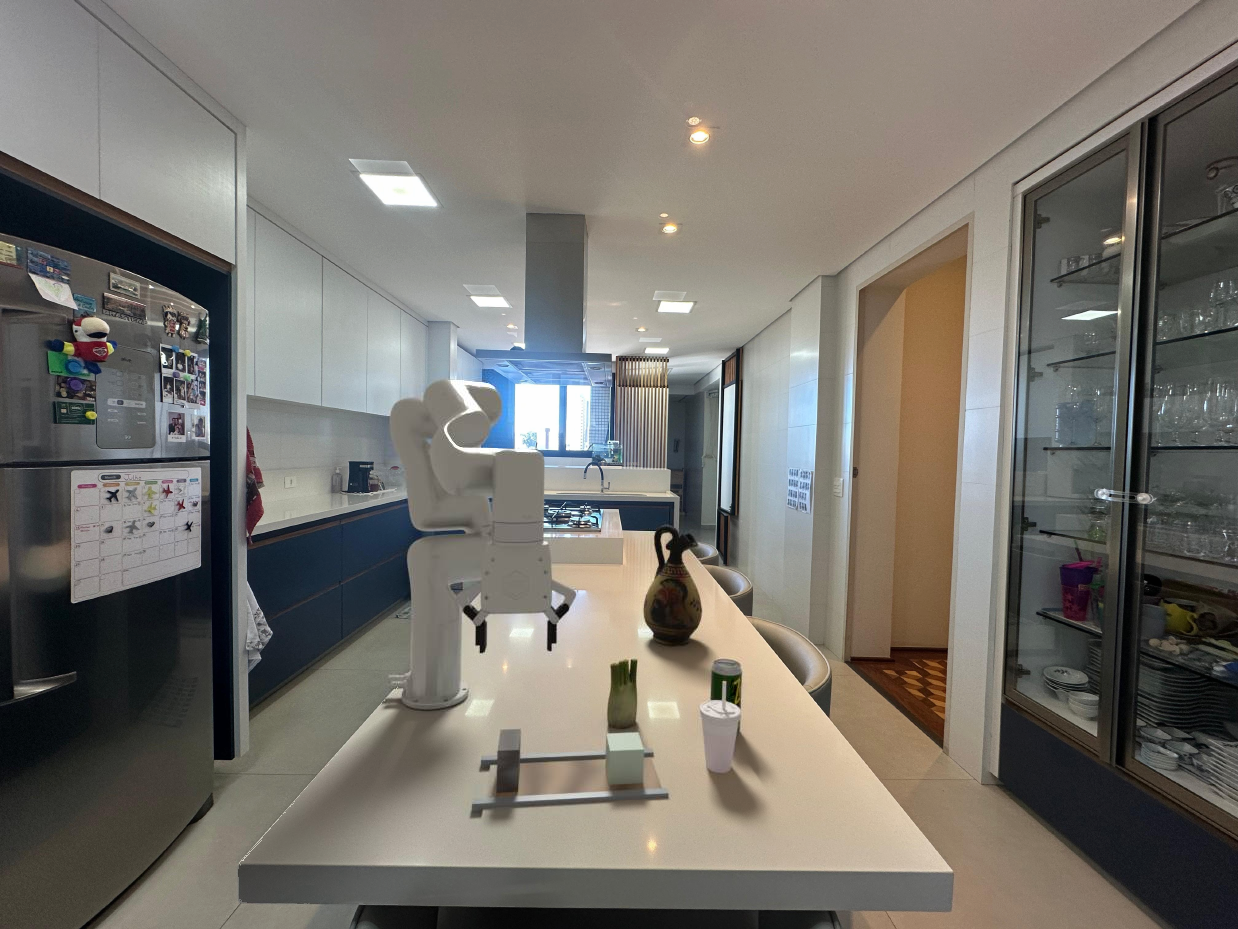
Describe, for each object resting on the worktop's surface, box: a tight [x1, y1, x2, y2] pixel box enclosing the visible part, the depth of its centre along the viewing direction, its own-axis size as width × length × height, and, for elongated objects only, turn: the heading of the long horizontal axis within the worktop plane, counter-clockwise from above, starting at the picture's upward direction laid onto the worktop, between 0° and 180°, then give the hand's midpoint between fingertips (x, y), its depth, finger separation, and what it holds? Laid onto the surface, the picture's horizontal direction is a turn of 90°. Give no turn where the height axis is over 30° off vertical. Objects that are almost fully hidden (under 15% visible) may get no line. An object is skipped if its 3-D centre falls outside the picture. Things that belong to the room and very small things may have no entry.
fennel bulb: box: [606, 658, 638, 730], centre depth 100 cm, size 6×5×12 cm
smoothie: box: [698, 681, 742, 774], centre depth 87 cm, size 6×6×14 cm
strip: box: [491, 728, 663, 798], centre depth 83 cm, size 24×9×7 cm, turn 98°
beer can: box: [709, 658, 743, 736], centre depth 100 cm, size 5×5×12 cm
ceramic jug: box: [642, 524, 703, 647], centre depth 148 cm, size 17×15×30 cm
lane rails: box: [471, 747, 670, 813], centre depth 83 cm, size 27×12×1 cm, turn 98°
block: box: [605, 731, 645, 785], centre depth 84 cm, size 5×5×5 cm
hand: (516, 649), depth 83 cm, fingers open, 9 cm apart
